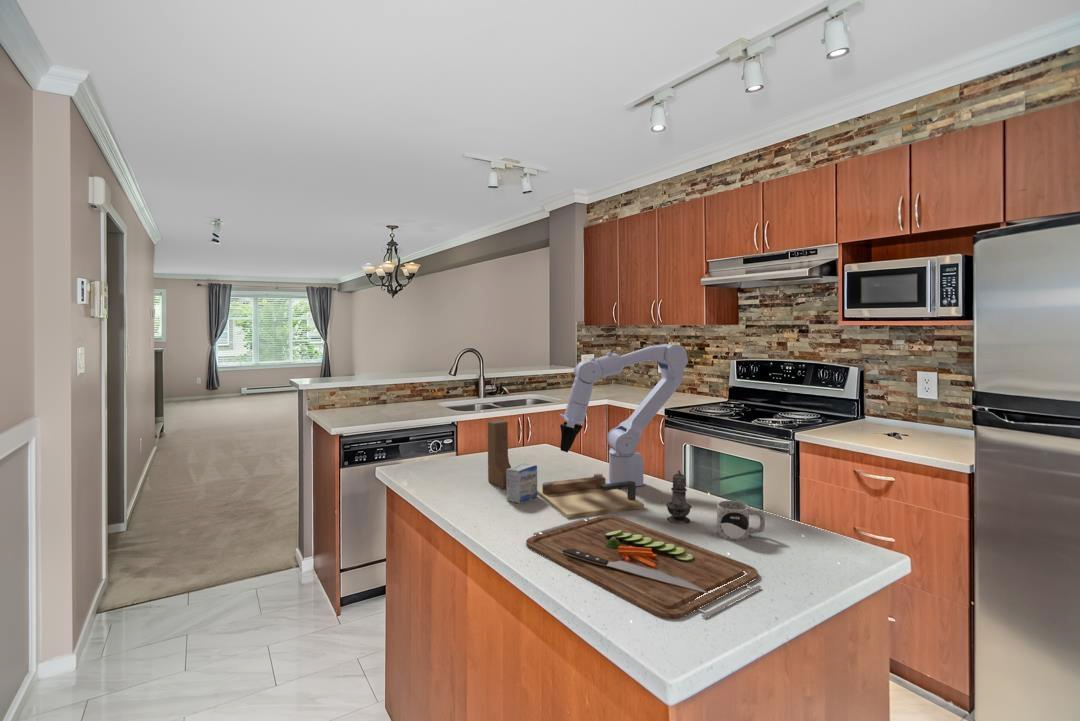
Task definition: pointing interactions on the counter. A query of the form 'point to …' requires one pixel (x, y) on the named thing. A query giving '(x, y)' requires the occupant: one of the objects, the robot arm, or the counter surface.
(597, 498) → the oak board
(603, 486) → the bar
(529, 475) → the medicine box
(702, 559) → the chopping board
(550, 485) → the link
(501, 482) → the wooden block
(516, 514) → the counter surface
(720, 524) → the mug
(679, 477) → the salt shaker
